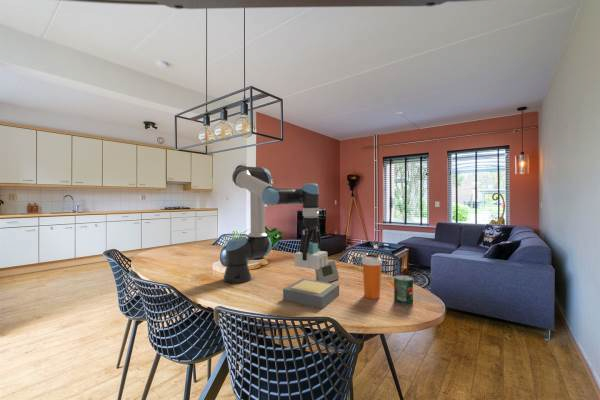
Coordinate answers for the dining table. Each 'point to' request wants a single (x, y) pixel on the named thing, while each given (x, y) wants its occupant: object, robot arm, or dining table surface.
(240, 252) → the robot arm
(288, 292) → the dock
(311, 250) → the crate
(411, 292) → the canned tomato
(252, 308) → the dining table surface
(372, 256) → the shaker bottle
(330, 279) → the digital clock
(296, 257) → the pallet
